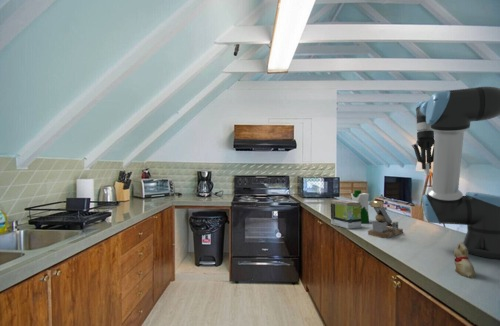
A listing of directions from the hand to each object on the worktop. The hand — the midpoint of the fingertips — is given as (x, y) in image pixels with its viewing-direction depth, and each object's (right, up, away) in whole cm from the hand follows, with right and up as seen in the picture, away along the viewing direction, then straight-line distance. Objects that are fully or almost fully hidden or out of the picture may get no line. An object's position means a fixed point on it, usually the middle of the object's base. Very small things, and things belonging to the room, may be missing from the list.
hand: (426, 175), depth 138 cm
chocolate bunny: (-25, -29, -54) cm, 66 cm away
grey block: (-28, -28, -7) cm, 40 cm away
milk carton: (-24, -31, +25) cm, 46 cm away
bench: (-24, -30, -4) cm, 38 cm away
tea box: (-37, -31, +16) cm, 51 cm away
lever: (-21, -26, -2) cm, 33 cm away
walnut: (-28, -23, -7) cm, 37 cm away
